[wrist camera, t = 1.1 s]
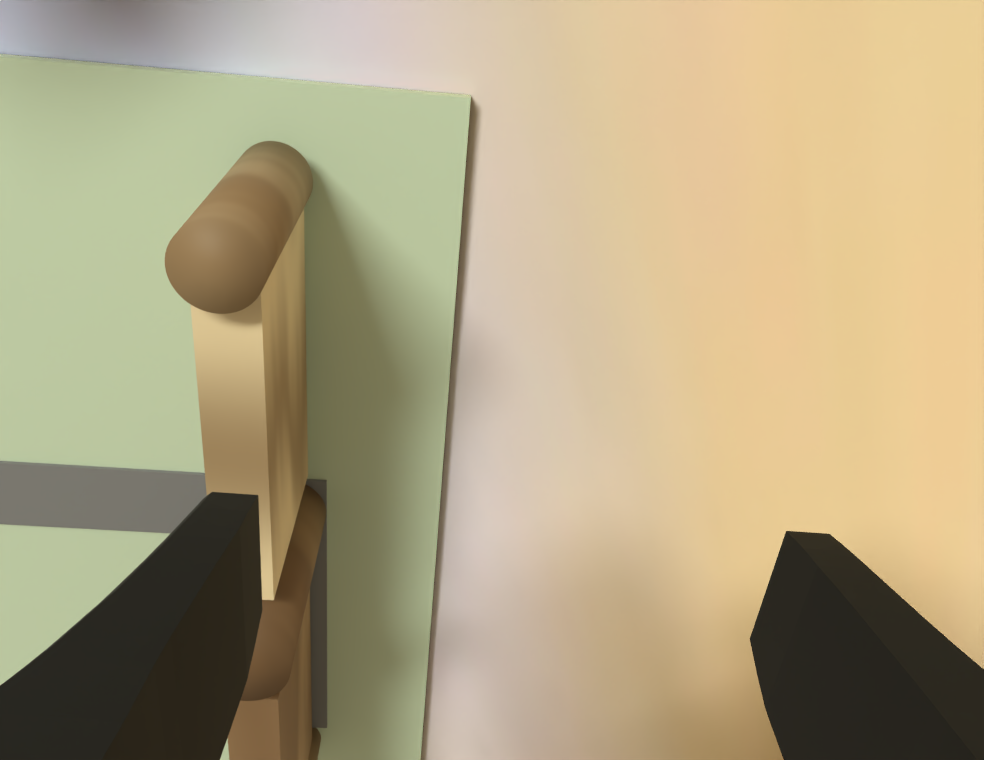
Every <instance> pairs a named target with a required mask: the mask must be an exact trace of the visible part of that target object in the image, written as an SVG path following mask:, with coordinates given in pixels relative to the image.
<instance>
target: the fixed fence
mask: <svg viewBox="0 0 984 760" xmlns="http://www.w3.org/2000/svg"><path fill="white" fill-rule="evenodd" d="M325 519H326V507H325V504H324V501H323V499H322V498H321V496H320V495H319V494H318V493H317V492H316V491H315V490H314V489H312V488H311V487H309V486H308V485H305V488H304V491H303V495H302V499H301V502H300V506H299V510H298V513H297V517H296V521H295V524H294V528H293V532H292V535H291V539H290V543H289V546H288V550H287V554H286V557H285V561H284V565H283V568H282V572H281V576H280V579H279V583H278V587H277V590H276V594H275V598H274V600H262V614H261V619H260V624H259V629H258V633H257V638H256V643H255V648H254V652H253V657H252V661H251V665H250V670H249V674H248V679H247V682H246V685H245V688H244V691H243V694H242V697H241V700H240V703H239V706H238V709H237V712H236V715H235V718H234V720H233V723H232V726H231V729H230V732H229V735H228V750H229V760H318V754H319V748H320V743H321V734H320V732H319V731H318V729H317V728H312V697H311V631H310V585H311V581H312V576H313V572H314V568H315V563H316V559H317V554H318V550H319V545H320V541H321V537H322V532H323V528H324V523H325Z"/></svg>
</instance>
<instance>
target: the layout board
mask: <svg viewBox="0 0 984 760" xmlns="http://www.w3.org/2000/svg"><path fill="white" fill-rule="evenodd" d="M470 102H471V95H463V94H451V93H440V92H428V91H417V90H406V89H394V88H383V87H371V86H360V85H349V84H337V83H326V82H315V81H303V80H292V79H280V78H269V77H258V76H246V75H235V74H223V73H212V72H201V71H189V70H178V69H167V68H155V67H144V66H132V65H121V64H110V63H98V62H87V61H75V60H64V59H53V58H41V57H30V56H19V55H7V54H0V685H1V684H3V683H4V682H5V681H7V680H8V679H9V678H11V677H12V676H13V675H14V674H16V673H17V672H18V671H20V670H21V669H22V668H23V667H25V666H26V665H27V664H29V663H30V662H31V661H32V660H33V659H35V658H36V657H37V656H38V655H40V654H41V653H42V652H43V651H45V650H46V649H47V648H48V647H49V646H51V645H52V644H53V643H54V642H55V641H57V640H58V639H59V638H60V637H61V636H62V635H63V634H65V633H66V632H67V631H68V630H69V629H70V628H71V627H73V626H74V625H75V624H76V623H77V622H78V621H79V620H81V619H82V618H83V617H84V616H85V615H86V614H88V613H89V612H90V611H91V610H92V609H93V608H94V607H96V606H97V605H98V604H99V603H100V602H101V601H102V600H103V599H104V598H105V597H107V596H108V595H109V594H110V593H111V592H112V591H113V590H114V589H115V588H116V587H117V586H118V585H119V584H120V583H121V582H122V581H123V580H124V579H125V578H126V577H127V576H128V575H129V574H131V573H132V572H133V571H134V570H135V569H136V568H137V567H138V566H139V565H140V564H141V563H142V562H143V561H144V560H145V559H146V558H147V557H148V556H149V555H150V554H151V553H152V552H153V551H154V550H155V549H156V548H157V547H158V546H159V545H160V544H161V543H162V542H163V541H164V540H165V539H166V538H167V537H168V536H169V535H170V533H171V532H172V531H173V530H174V529H175V528H176V527H177V526H178V525H179V524H180V523H181V522H182V521H183V520H184V519H185V518H186V517H187V516H188V514H189V513H190V512H191V511H192V510H193V509H194V508H195V507H196V506H197V505H198V504H199V503H200V502H201V501H202V499H203V498H205V497H206V496H207V492H206V481H205V469H204V457H203V446H202V434H201V422H200V411H199V399H198V387H197V376H196V364H195V352H194V340H193V329H192V317H191V305H190V304H189V303H188V302H186V301H185V300H184V299H183V298H182V297H181V296H180V295H179V294H178V293H177V292H176V291H175V289H174V288H173V286H172V285H171V283H170V281H169V279H168V277H167V273H166V269H165V252H166V249H167V246H168V244H169V242H170V240H171V239H172V237H173V236H174V235H175V234H176V233H177V231H178V230H179V229H180V228H181V227H182V225H183V224H184V223H185V222H186V221H187V220H188V218H189V217H190V216H191V215H192V214H193V212H194V211H195V210H196V209H197V208H198V207H199V205H200V204H201V203H202V202H203V201H204V199H205V198H206V197H207V196H208V195H209V193H210V192H211V191H212V190H213V189H214V188H215V186H216V185H217V184H218V183H219V182H220V180H221V179H222V178H223V177H224V176H225V175H226V173H227V172H228V171H229V170H230V169H231V167H232V166H233V165H234V164H235V163H236V162H237V160H238V159H239V158H240V157H241V156H242V154H243V153H244V152H245V151H246V150H247V149H248V148H250V147H251V146H253V145H254V144H257V143H259V142H263V141H277V142H282V143H285V144H287V145H289V146H291V147H293V148H294V149H296V150H297V151H298V152H299V153H300V154H302V156H303V157H304V158H305V159H306V161H307V162H308V164H309V166H310V169H311V172H312V176H313V189H312V193H311V196H310V198H309V200H308V201H307V203H306V205H305V207H304V240H305V305H306V370H307V436H308V477H307V480H306V484H305V485H308V486H309V487H311V488H312V489H314V490H315V491H316V492H317V493H318V494H319V495H320V496H321V498H322V499H323V501H324V504H325V507H326V519H325V523H324V528H323V532H322V537H321V541H320V545H319V550H318V554H317V559H316V563H315V568H314V572H313V576H312V581H311V585H310V631H311V697H312V728H317V729H318V731H319V732H320V734H321V743H320V748H319V754H318V760H421V747H422V734H423V721H424V708H425V694H426V681H427V668H428V655H429V642H430V629H431V616H432V602H433V589H434V576H435V563H436V550H437V537H438V523H439V510H440V497H441V484H442V471H443V458H444V444H445V431H446V418H447V405H448V392H449V379H450V365H451V352H452V339H453V326H454V313H455V300H456V286H457V273H458V260H459V247H460V234H461V221H462V207H463V194H464V181H465V168H466V155H467V142H468V128H469V115H470ZM220 760H229V750H228V738H227V741H226V744H225V747H224V749H223V752H222V755H221V758H220Z"/></svg>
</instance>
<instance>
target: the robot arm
mask: <svg viewBox="0 0 984 760" xmlns="http://www.w3.org/2000/svg"><path fill="white" fill-rule="evenodd" d="M261 614H262V583H261V554H260V526H259V498H258V495H252V494H237V493H222V492H211V493H210V494H208V495H207V496H206V497H205V498H203V499H202V501H201V502H200V503H199V504H198V505H197V506H196V507H195V508H194V509H193V510H192V511H191V512H190V513H189V514H188V516H187V517H186V518H185V519H184V520H183V521H182V522H181V523H180V524H179V525H178V526H177V527H176V528H175V529H174V530H173V531H172V532H171V533H170V535H169V536H168V537H167V538H166V539H165V540H164V541H163V542H162V543H161V544H160V545H159V546H158V547H157V548H156V549H155V550H154V551H153V552H152V553H151V554H150V555H149V556H148V557H147V558H146V559H145V560H144V561H143V562H142V563H141V564H140V565H139V566H138V567H137V568H136V569H135V570H134V571H133V572H132V573H131V574H129V575H128V576H127V577H126V578H125V579H124V580H123V581H122V582H121V583H120V584H119V585H118V586H117V587H116V588H115V589H114V590H113V591H112V592H111V593H110V594H109V595H108V596H107V597H105V598H104V599H103V600H102V601H101V602H100V603H99V604H98V605H97V606H96V607H94V608H93V609H92V610H91V611H90V612H89V613H88V614H86V615H85V616H84V617H83V618H82V619H81V620H79V621H78V622H77V623H76V624H75V625H74V626H73V627H71V628H70V629H69V630H68V631H67V632H66V633H65V634H63V635H62V636H61V637H60V638H59V639H58V640H57V641H55V642H54V643H53V644H52V645H51V646H49V647H48V648H47V649H46V650H45V651H43V652H42V653H41V654H40V655H38V656H37V657H36V658H35V659H33V660H32V661H31V662H30V663H29V664H27V665H26V666H25V667H23V668H22V669H21V670H20V671H18V672H17V673H16V674H14V675H13V676H12V677H11V678H9V679H8V680H7V681H5V682H4V683H3V684H1V685H0V760H220V758H221V755H222V752H223V749H224V747H225V744H226V741H227V738H228V735H229V732H230V729H231V726H232V723H233V720H234V718H235V715H236V712H237V709H238V706H239V703H240V700H241V697H242V694H243V691H244V688H245V685H246V682H247V679H248V674H249V670H250V665H251V661H252V657H253V652H254V648H255V643H256V638H257V633H258V629H259V624H260V619H261ZM750 642H751V647H752V651H753V656H754V661H755V666H756V671H757V675H758V680H759V684H760V688H761V692H762V696H763V700H764V704H765V708H766V711H767V714H768V717H769V720H770V723H771V726H772V728H773V731H774V734H775V737H776V739H777V742H778V745H779V748H780V750H781V753H782V756H783V759H784V760H984V669H982V668H981V667H980V666H979V665H978V664H977V663H975V662H974V661H973V660H972V659H971V658H969V657H968V656H967V655H966V654H965V653H964V652H962V651H961V650H960V649H959V648H958V647H957V646H955V645H954V644H953V643H952V642H951V641H950V640H948V639H947V638H946V637H945V636H944V635H943V634H942V633H940V632H939V631H938V630H937V629H936V628H935V627H934V626H932V625H931V624H930V623H929V622H928V621H927V620H926V619H925V618H923V617H922V616H921V615H920V614H919V613H918V612H917V611H916V610H915V609H913V608H912V607H911V606H910V605H909V604H908V603H907V602H906V601H905V600H903V599H902V598H901V597H900V596H899V595H898V594H897V593H896V592H895V591H894V590H892V589H891V588H890V587H889V586H888V585H887V584H886V583H885V582H884V581H883V580H881V579H880V578H879V577H878V576H877V575H876V574H875V573H874V572H873V571H872V570H870V569H869V568H868V567H867V566H866V565H865V564H864V563H863V562H862V561H860V560H859V559H858V558H857V557H856V556H855V555H854V554H853V553H851V552H850V551H849V550H848V549H847V548H846V547H844V546H843V545H842V544H841V543H840V542H839V541H837V540H836V539H835V538H834V537H832V536H831V535H830V534H822V533H808V532H793V531H786V534H785V537H784V539H783V542H782V545H781V548H780V551H779V554H778V557H777V560H776V563H775V566H774V569H773V572H772V575H771V578H770V581H769V584H768V587H767V590H766V593H765V596H764V599H763V602H762V605H761V607H760V610H759V613H758V616H757V619H756V622H755V625H754V628H753V631H752V634H751V637H750Z"/></svg>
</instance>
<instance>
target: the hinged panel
mask: <svg viewBox="0 0 984 760" xmlns="http://www.w3.org/2000/svg"><path fill="white" fill-rule="evenodd" d="M312 189H313V176H312V172H311V169H310V166H309V164H308V162H307V161H306V159H305V158H304V157H303V156H302V154H300V153H299V152H298V151H297V150H296V149H294V148H293V147H291V146H289V145H287V144H285V143H282V142H277V141H263V142H259V143H257V144H254V145H253V146H251V147H250V148H248V149H247V150H246V151H245V152H244V153H243V154H242V156H241V157H240V158H239V159H238V160H237V162H236V163H235V164H234V165H233V166H232V167H231V169H230V170H229V171H228V172H227V173H226V175H225V176H224V177H223V178H222V179H221V180H220V182H219V183H218V184H217V185H216V186H215V188H214V189H213V190H212V191H211V192H210V193H209V195H208V196H207V197H206V198H205V199H204V201H203V202H202V203H201V204H200V205H199V207H198V208H197V209H196V210H195V211H194V212H193V214H192V215H191V216H190V217H189V218H188V220H187V221H186V222H185V223H184V224H183V225H182V227H181V228H180V229H179V230H178V231H177V233H176V234H175V235H174V236H173V237H172V239H171V240H170V242H169V244H168V246H167V249H166V252H165V269H166V273H167V277H168V279H169V281H170V283H171V285H172V286H173V288H174V289H175V291H176V292H177V293H178V294H179V295H180V296H181V297H182V298H183V299H184V300H185V301H186V302H188V303H189V304H190V305H191V317H192V329H193V340H194V352H195V364H196V376H197V387H198V399H199V411H200V422H201V434H202V446H203V457H204V469H205V481H206V492H207V495H208V494H210V493H211V492H222V493H237V494H252V495H258V498H259V526H260V554H261V583H262V600H274V598H275V594H276V590H277V587H278V583H279V579H280V576H281V572H282V568H283V565H284V561H285V557H286V554H287V550H288V546H289V543H290V539H291V535H292V532H293V528H294V524H295V521H296V517H297V513H298V510H299V506H300V502H301V499H302V495H303V491H304V488H305V484H306V480H307V477H308V436H307V370H306V305H305V240H304V207H305V205H306V203H307V201H308V200H309V198H310V196H311V193H312Z"/></svg>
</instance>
